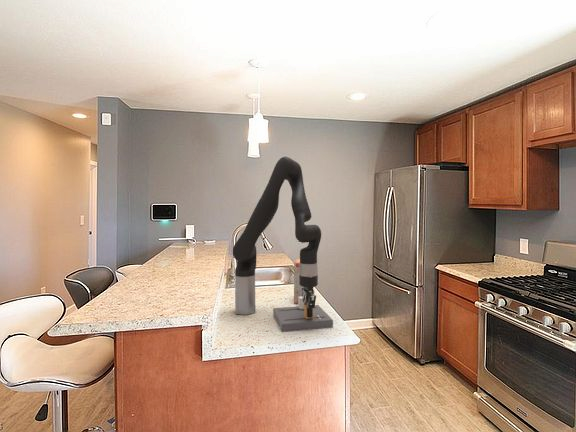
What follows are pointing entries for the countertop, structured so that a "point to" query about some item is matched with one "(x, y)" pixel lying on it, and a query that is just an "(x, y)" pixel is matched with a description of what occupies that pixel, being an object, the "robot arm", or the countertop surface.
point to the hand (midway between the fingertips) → (308, 315)
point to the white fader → (300, 303)
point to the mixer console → (301, 319)
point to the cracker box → (297, 281)
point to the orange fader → (306, 312)
